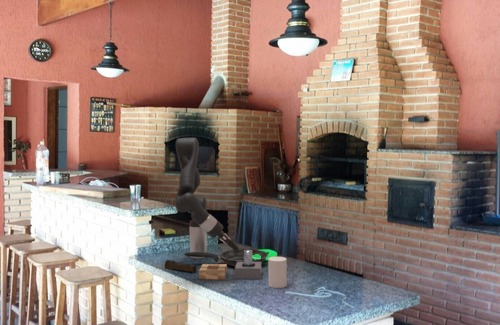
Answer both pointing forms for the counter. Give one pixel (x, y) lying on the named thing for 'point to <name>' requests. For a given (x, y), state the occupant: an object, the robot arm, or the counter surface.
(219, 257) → the frying pan
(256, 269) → the holder block
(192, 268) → the hand tool
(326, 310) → the counter surface
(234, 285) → the counter surface
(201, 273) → the square frame block
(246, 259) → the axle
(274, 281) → the cup
